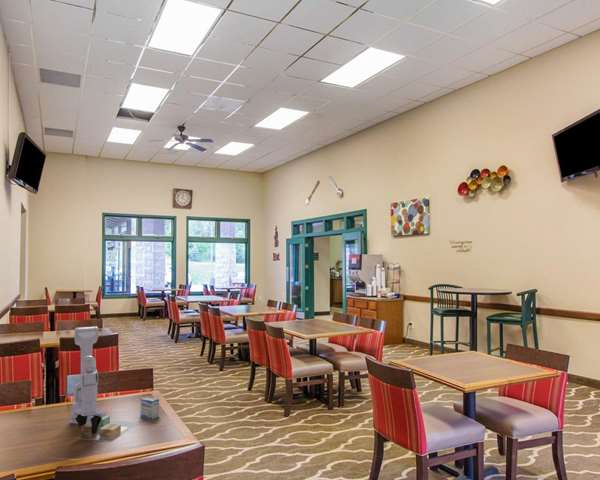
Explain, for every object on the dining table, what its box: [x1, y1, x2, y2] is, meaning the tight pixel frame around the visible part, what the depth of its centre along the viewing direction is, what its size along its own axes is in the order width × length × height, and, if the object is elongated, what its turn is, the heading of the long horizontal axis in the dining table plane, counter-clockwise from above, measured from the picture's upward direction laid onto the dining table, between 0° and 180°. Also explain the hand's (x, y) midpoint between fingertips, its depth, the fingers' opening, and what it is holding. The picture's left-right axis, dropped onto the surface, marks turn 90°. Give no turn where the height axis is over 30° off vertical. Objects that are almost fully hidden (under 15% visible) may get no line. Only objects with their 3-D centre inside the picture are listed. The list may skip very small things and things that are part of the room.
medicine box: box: [140, 396, 160, 420], centre depth 220 cm, size 8×4×9 cm, turn 62°
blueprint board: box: [79, 419, 140, 442], centre depth 203 cm, size 15×22×1 cm
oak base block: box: [100, 424, 121, 438], centre depth 197 cm, size 6×6×4 cm
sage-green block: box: [97, 415, 111, 431], centre depth 205 cm, size 4×4×5 cm
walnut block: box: [80, 422, 97, 440], centre depth 196 cm, size 4×4×5 cm
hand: (89, 433), depth 196 cm, fingers open, 5 cm apart
